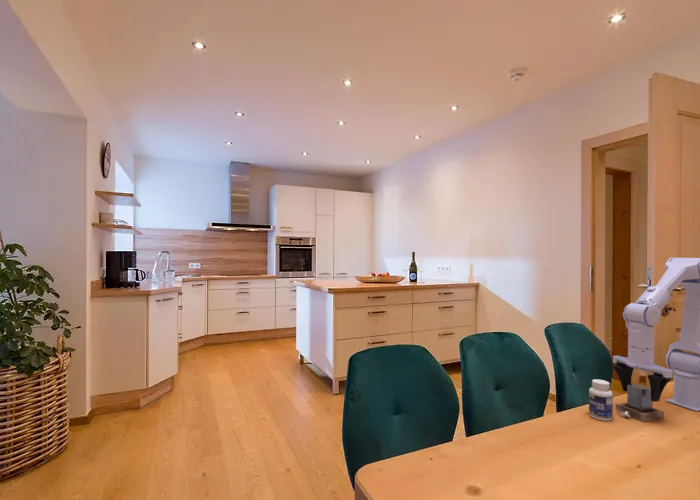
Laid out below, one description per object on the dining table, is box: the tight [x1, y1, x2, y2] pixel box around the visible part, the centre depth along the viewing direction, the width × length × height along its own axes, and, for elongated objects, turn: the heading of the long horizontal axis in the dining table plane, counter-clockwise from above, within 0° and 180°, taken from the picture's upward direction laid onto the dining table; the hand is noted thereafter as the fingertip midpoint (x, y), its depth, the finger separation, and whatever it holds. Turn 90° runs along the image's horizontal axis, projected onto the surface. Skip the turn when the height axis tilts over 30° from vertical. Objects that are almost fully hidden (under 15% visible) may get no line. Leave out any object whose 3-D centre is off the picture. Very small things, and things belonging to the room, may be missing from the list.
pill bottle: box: [588, 378, 614, 422], centre depth 101 cm, size 5×5×10 cm
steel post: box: [626, 383, 654, 413], centre depth 103 cm, size 4×4×8 cm
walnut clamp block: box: [616, 402, 665, 423], centre depth 103 cm, size 10×7×2 cm
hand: (640, 395), depth 103 cm, fingers open, 7 cm apart
